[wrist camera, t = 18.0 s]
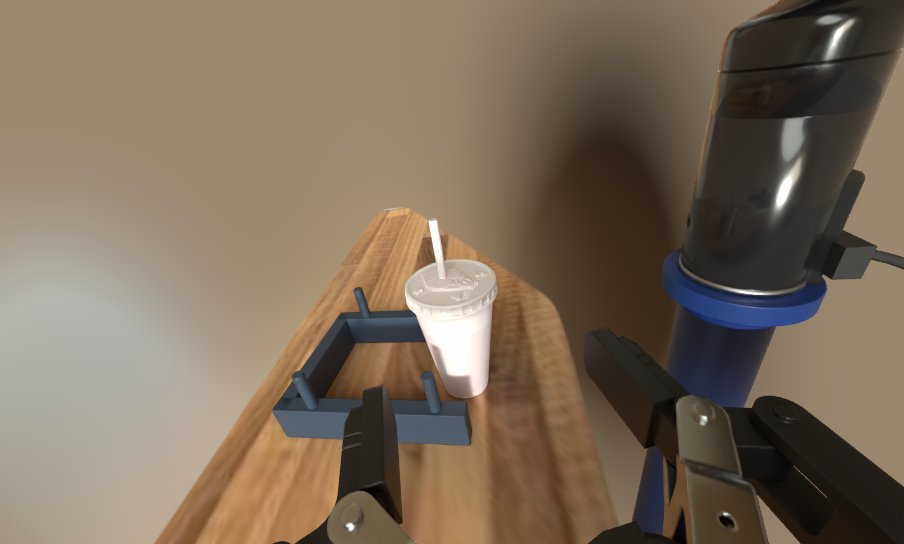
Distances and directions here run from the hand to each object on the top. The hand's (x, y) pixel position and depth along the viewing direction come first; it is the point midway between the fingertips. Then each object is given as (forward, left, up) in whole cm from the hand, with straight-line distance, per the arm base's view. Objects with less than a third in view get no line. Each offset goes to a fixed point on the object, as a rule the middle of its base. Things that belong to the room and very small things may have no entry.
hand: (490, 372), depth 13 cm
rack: (+10, -10, -11) cm, 18 cm away
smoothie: (+4, -10, -12) cm, 16 cm away
